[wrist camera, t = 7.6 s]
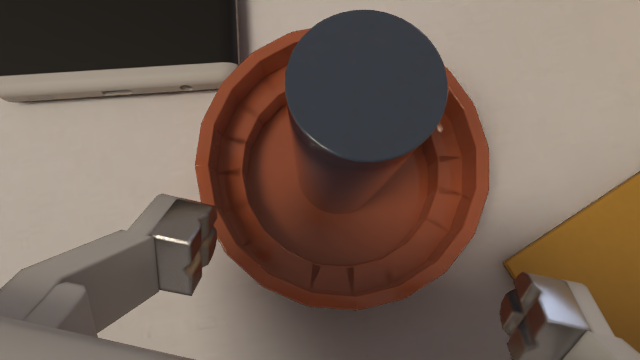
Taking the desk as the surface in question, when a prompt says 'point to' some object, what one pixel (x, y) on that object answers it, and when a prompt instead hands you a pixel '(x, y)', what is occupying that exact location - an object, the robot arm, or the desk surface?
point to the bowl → (326, 228)
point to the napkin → (596, 256)
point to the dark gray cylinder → (360, 104)
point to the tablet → (114, 47)
